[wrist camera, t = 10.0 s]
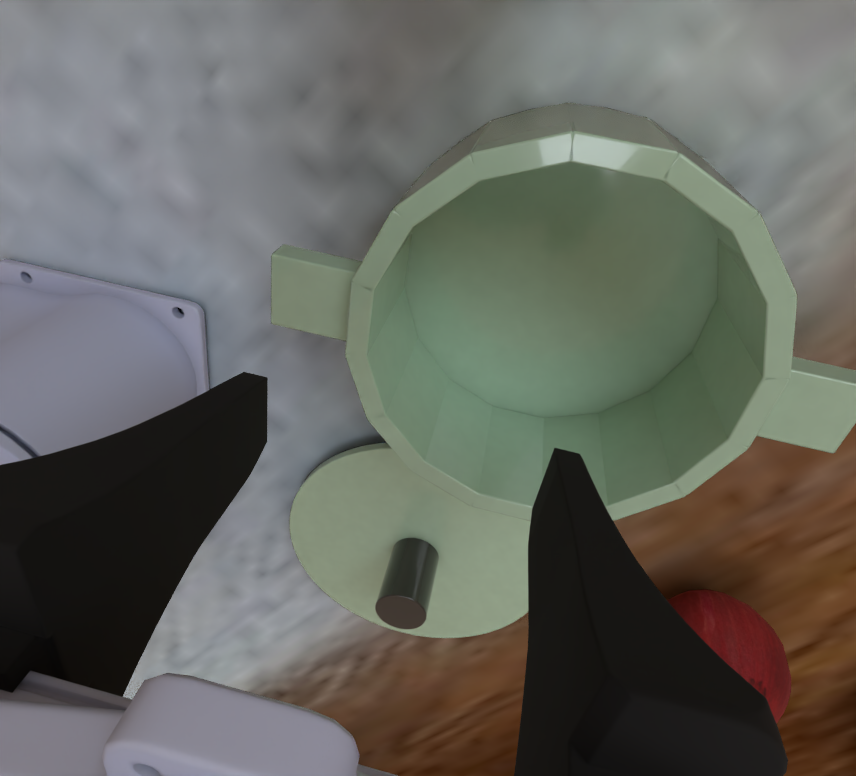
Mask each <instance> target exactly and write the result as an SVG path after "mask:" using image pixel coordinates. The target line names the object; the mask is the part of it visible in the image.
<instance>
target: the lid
mask: <svg viewBox="0 0 856 776" xmlns="http://www.w3.org/2000/svg"><path fill="white" fill-rule="evenodd" d="M530 523H531V521H528V520H524V519H520V518H516V517H512V516H508V515H504V514H500V513H496V512H492V511H487V510H483V509H479V508H475V507H472V506H469V505H467V504H466V503H464V502H462V501H461V500H459V499H457V498H456V497H454V496H452V495H450V494H449V493H447V492H445V491H444V490H442V489H440V488H439V487H437V486H435V485H434V484H432V483H430V482H429V481H427V480H425V479H424V478H422V477H420V476H419V475H417V474H415V473H414V472H412V471H411V470H410V469H409V468H408V467H407V466H406V465H405V463H404V462H403V461H402V460H401V459H400V458H399V456H398V455H397V454H396V453H395V452H394V451H393V449H392V448H391V447H390V446H389V445H388V443H378V444H370V445H364V446H361V447H357V448H353V449H349V450H347V451H345V452H342V453H340V454H337V455H335V456H333V457H332V458H330V459H328V460H327V461H325V462H323V463H322V464H321V465H319V466H318V467H317V468H316V469H315V470H314V471H312V472H311V473H310V475H309V476H308V477H307V478H306V479H305V481H304V482H303V483H302V485H301V487H300V489H299V491H298V492H297V494H296V496H295V498H294V501H293V504H292V507H291V512H290V520H289V525H290V536H291V540H292V544H293V547H294V550H295V552H296V555H297V557H298V559H299V561H300V563H301V564H302V566H303V568H304V569H305V571H306V572H307V573H308V575H309V576H310V577H311V579H312V580H313V581H314V582H315V583H316V584H317V585H318V586H319V587H320V589H321V590H323V591H324V592H325V593H326V594H327V595H328V596H329V597H331V598H332V599H333V600H334V601H336V602H337V603H339V604H340V605H341V606H343V607H344V608H346V609H347V610H349V611H351V612H352V613H354V614H356V615H358V616H360V617H362V618H364V619H366V620H368V621H370V622H372V623H375V624H377V625H380V626H382V627H385V628H388V629H392V630H395V631H398V632H402V633H407V634H411V635H417V636H424V637H433V638H461V637H470V636H476V635H481V634H485V633H489V632H492V631H495V630H498V629H501V628H503V627H505V626H507V625H509V624H511V623H513V622H515V621H516V620H518V619H519V618H521V617H522V616H524V615H525V614H526V613H527V612H528V540H529V531H530Z"/></svg>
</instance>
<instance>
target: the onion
mask: <svg viewBox="0 0 856 776" xmlns="http://www.w3.org/2000/svg"><path fill="white" fill-rule="evenodd" d="M667 601H668V602H669V603H670V604H671V605H672V607H673V608H674V609H675V610H676V611H677V612H678V614H679V615H680V616H681V617H682V618H683V619H684V621H685V622H686V623H687V624H688V625H689V626H690V627H691V628H692V629H693V630H694V631H695V632H696V633H697V634H698V635H699V637H700V638H701V639H702V640H703V641H704V642H705V643H706V644H707V645H708V646H709V647H711V648H712V649H713V650H714V651H715V652H716V653H717V654H718V655H719V656H720V657H721V658H722V659H723V660H724V661H725V662H726V663H727V664H728V665H729V666H730V667H731V668H733V669H734V670H735V671H736V672H737V673H738V674H739V675H741V676H742V677H743V678H744V679H745V680H746V681H747V682H748V683H750V684H751V685H752V686H753V687H754V688H755V689H756V690H758V691H759V692H760V693H761V694H762V695H763V696H764V697H766V699H767V701H768V704H769V706H770V709H771V711H772V714H773V716H774V719H775V721H776V723H777V722H778V721H779V719H780V718H781V716H782V715H783V713H784V711H785V709H786V707H787V705H788V701H789V697H790V693H791V675H790V671H789V667H788V663H787V659H786V655H785V651H784V647H783V644H782V643H781V641H780V639H779V638H778V636H777V635H776V633H775V631H774V630H773V628H772V627H771V626H770V625H769V624H768V623H767V622H766V621H765V620H764V619H763V618H762V617H761V616H760V615H759V614H758V613H757V612H756V611H755V610H754V609H752V608H751V607H750V606H749V605H747V604H745V603H743V602H741V601H739V600H737V599H735V598H733V597H731V596H729V595H727V594H725V593H723V592H717V591H712V590H707V589H702V590H692V591H686V592H684V593H681V594H679V595H676V596H674V597H672V598H670V599H669V600H667Z"/></svg>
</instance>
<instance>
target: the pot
mask: <svg viewBox="0 0 856 776" xmlns="http://www.w3.org/2000/svg"><path fill="white" fill-rule="evenodd" d="M796 308H797V292H796V290H795V288H794V286H793V284H792V282H791V279H790V277H789V275H788V273H787V271H786V268H785V266H784V264H783V262H782V260H781V257H780V255H779V253H778V251H777V249H776V246H775V244H774V242H773V240H772V238H771V235H770V233H769V231H768V229H767V227H766V224H765V222H764V220H763V218H762V216H761V214H760V213H759V212H758V211H757V210H756V209H755V208H754V207H753V206H752V205H751V204H750V203H749V202H748V201H747V200H746V199H745V198H744V197H743V196H742V195H741V194H740V193H739V192H738V191H737V190H736V189H735V188H734V187H733V186H732V185H731V184H730V183H728V182H727V181H726V180H725V179H724V178H723V177H722V176H721V175H720V174H719V173H718V172H717V171H716V170H715V169H714V168H713V167H712V166H711V165H710V164H709V163H708V162H706V161H705V160H704V159H702V158H701V157H700V156H698V155H697V154H696V153H694V152H693V151H692V150H690V149H689V148H688V147H686V146H685V145H684V144H683V143H681V142H680V141H679V140H678V139H677V138H675V137H674V136H672V135H671V134H669V133H668V132H667V131H665V130H664V129H663V128H661V127H660V126H659V125H657V124H656V123H655V122H653V121H652V120H651V119H648V118H647V117H642V116H637V115H632V114H628V113H625V112H621V111H617V110H614V109H610V108H605V107H597V106H589V105H581V104H576V103H563V104H559V105H553V106H547V107H541V108H534V109H529V110H526V111H522V112H519V113H516V114H513V115H509V116H506V117H503V118H498V119H494V120H492V121H491V122H488V123H486V124H485V125H484V126H482V127H481V128H479V129H478V130H477V131H475V132H474V133H472V134H471V135H469V136H468V137H466V138H465V139H463V140H462V141H460V142H459V143H458V144H457V145H455V146H454V147H453V148H452V149H451V150H450V151H448V152H447V153H445V154H444V155H443V156H441V157H440V158H439V159H437V160H436V161H435V162H433V163H432V164H431V165H430V166H429V167H428V168H427V169H426V170H425V171H424V173H423V174H422V175H421V176H420V177H419V179H418V180H417V181H416V182H415V183H414V184H413V186H412V187H411V188H410V189H409V190H408V192H407V193H406V194H405V195H404V196H403V197H402V199H401V200H400V201H399V202H398V203H397V205H396V206H395V207H394V208H393V209H392V210H391V212H390V214H389V216H388V217H387V219H386V221H385V223H384V224H383V226H382V228H381V230H380V231H379V233H378V235H377V237H376V238H375V240H374V242H373V243H372V245H371V247H370V249H369V250H368V252H367V254H366V256H365V257H364V259H363V261H357V260H353V259H348V258H344V257H339V256H335V255H330V254H326V253H321V252H317V251H312V250H308V249H303V248H299V247H294V246H289V245H285V244H284V245H282V246H281V247H280V248H279V249H277V250H276V251H275V252H274V253H273V254H272V255H271V324H274V325H278V326H282V327H287V328H291V329H295V330H300V331H304V332H308V333H313V334H317V335H321V336H326V337H330V338H334V339H339V340H343V341H346V348H345V353H346V354H345V356H346V359H347V362H348V365H349V368H350V371H351V374H352V377H353V380H354V383H355V386H356V388H357V391H358V394H359V397H360V400H361V403H362V406H363V409H364V412H365V415H366V418H367V419H368V421H369V422H370V424H371V425H372V426H373V427H374V428H375V429H376V431H377V432H378V433H379V434H380V435H381V436H382V438H383V439H384V440H385V441H386V442H387V443H388V445H389V446H390V447H391V448H392V449H393V451H394V452H395V453H396V454H397V455H398V456H399V458H400V459H401V460H402V461H403V462H404V463H405V465H406V466H407V467H408V468H409V469H410V470H411V471H412V472H414V473H415V474H417V475H419V476H420V477H422V478H424V479H425V480H427V481H429V482H430V483H432V484H434V485H435V486H437V487H439V488H440V489H442V490H444V491H445V492H447V493H449V494H450V495H452V496H454V497H456V498H457V499H459V500H461V501H462V502H464V503H466V504H467V505H469V506H472V507H475V508H479V509H483V510H487V511H492V512H496V513H500V514H504V515H508V516H512V517H516V518H520V519H524V520H528V521H531V515H532V508H533V505H534V502H535V499H536V497H537V494H538V491H539V489H540V486H541V483H542V480H543V478H544V475H545V472H546V469H547V467H548V464H549V461H550V458H551V456H552V453H553V450H554V448H559V449H563V450H567V451H571V452H575V453H579V454H580V455H581V457H582V458H583V460H584V463H585V465H586V467H587V469H588V472H589V474H590V476H591V478H592V480H593V483H594V485H595V487H596V489H597V491H598V493H599V495H600V497H601V499H602V501H603V503H604V505H605V507H606V509H607V511H608V513H609V515H610V516H611V518H612V520H618V519H621V518H624V517H627V516H630V515H632V514H635V513H638V512H641V511H644V510H647V509H650V508H653V507H656V506H659V505H662V504H665V503H668V502H671V501H674V500H677V499H679V498H682V497H685V496H686V495H688V494H690V493H691V492H692V491H693V490H695V489H696V488H697V487H699V486H700V485H701V484H703V483H704V482H705V481H707V480H708V479H709V478H711V477H712V476H713V475H715V474H716V473H717V472H719V471H720V470H721V469H722V468H724V467H725V466H726V465H728V464H729V463H730V462H732V461H733V460H734V459H736V458H737V457H738V456H740V455H741V454H742V453H744V452H745V451H746V450H747V449H748V447H750V446H751V444H752V442H753V441H754V439H755V437H756V436H759V437H763V438H768V439H772V440H776V441H781V442H785V443H789V444H794V445H798V446H802V447H807V448H811V449H815V450H820V451H824V452H828V453H835V451H836V450H837V449H838V447H839V446H840V444H841V443H842V442H843V440H844V439H845V437H846V436H847V434H848V433H849V432H850V430H851V429H852V427H853V426H854V425H855V423H856V370H851V369H847V368H842V367H838V366H833V365H828V364H824V363H819V362H815V361H810V360H806V359H801V358H797V357H792V356H793V344H794V332H795V320H796Z"/></svg>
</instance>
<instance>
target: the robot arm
mask: <svg viewBox="0 0 856 776" xmlns="http://www.w3.org/2000/svg"><path fill="white" fill-rule="evenodd" d="M28 274H29V275H30V276H31V278H32V279H31V278H30V277H29V275H28ZM177 307H178V308H180V309H181V310H182V311H183V313H184V315H183V314H181V313H180V312H179V311H178V309H177ZM266 443H267V377H263V376H259V375H254V374H250V373H246V372H243V373H241V374H239V375H237V376H235V377H233V378H231V379H229V380H227V381H225V382H223V383H221V384H220V385H218V386H216V387H214V388H212V389H210V390H209V377H208V362H207V347H206V331H205V316H204V311H203V309H202V308H201V306H200V305H198V304H197V303H195V302H192V301H188V300H184V299H179V298H175V297H171V296H166V295H162V294H158V293H153V292H149V291H145V290H140V289H136V288H132V287H127V286H123V285H118V284H114V283H110V282H105V281H101V280H97V279H92V278H88V277H84V276H79V275H75V274H71V273H66V272H62V271H58V270H53V269H49V268H45V267H40V266H36V265H32V264H27V263H23V262H19V261H14V260H10V259H4V260H1V261H0V776H397V775H394V774H390V773H387V772H383V771H380V770H376V769H373V768H369V767H366V766H362V765H359V764H358V761H359V752H358V749H357V746H356V743H355V740H354V738H353V736H352V734H350V733H349V732H348V731H347V730H346V729H345V728H344V727H342V726H341V725H340V724H339V723H338V722H337V721H335V720H334V719H331V718H329V717H327V716H324V715H322V714H320V713H317V712H315V711H313V710H311V709H307V708H303V707H300V706H296V705H293V704H289V703H286V702H282V701H279V700H275V699H271V698H268V697H264V696H261V695H257V694H254V693H250V692H247V691H243V690H239V689H236V688H232V687H229V686H225V685H222V684H218V683H214V682H211V681H207V680H204V679H200V678H197V677H193V676H187V675H180V674H172V673H166V674H163V675H160V676H157V677H154V678H150V679H147V680H144V682H143V683H142V685H141V687H140V688H139V690H138V692H137V693H136V695H135V696H134V698H133V700H131V699H128V698H124V697H122V696H123V694H124V692H125V690H126V688H127V686H128V683H129V681H130V679H131V677H132V675H133V672H134V670H135V668H136V666H137V664H138V662H139V660H140V658H141V656H142V654H143V652H144V650H145V648H146V646H147V644H148V642H149V640H150V638H151V636H152V634H153V631H154V629H155V627H156V625H157V624H158V622H159V620H160V618H161V616H162V614H163V612H164V610H165V608H166V606H167V604H168V603H169V601H170V599H171V597H172V595H173V593H174V591H175V589H176V587H177V586H178V584H179V582H180V580H181V578H182V577H183V575H184V573H185V571H186V569H187V568H188V566H189V564H190V562H191V560H192V559H193V557H194V555H195V554H196V552H197V551H198V549H199V548H200V546H201V544H202V543H203V541H204V540H205V539H206V537H207V536H208V534H209V533H210V531H211V530H212V529H213V527H214V526H215V524H216V523H217V522H218V520H219V519H220V517H221V516H222V514H223V513H224V512H225V510H226V509H227V507H228V506H229V504H230V503H231V502H232V500H233V499H234V497H235V496H236V494H237V493H238V492H239V490H240V489H241V487H242V486H243V484H244V483H245V481H246V480H247V479H248V477H249V476H250V474H251V472H252V470H253V468H254V466H255V465H256V463H257V461H258V459H259V457H260V455H261V453H262V451H263V449H264V447H265V445H266ZM528 613H529V634H528V653H527V664H526V674H525V685H524V695H523V704H522V714H521V723H520V732H519V740H518V749H517V757H516V765H515V774H514V776H783V775H784V774H785V773H786V770H787V762H788V759H787V756H786V753H785V750H784V747H783V743H782V740H781V736H780V733H779V730H778V727H777V724H776V721H775V719H774V716H773V714H772V711H771V709H770V706H769V704H768V701H767V699H766V697H764V696H763V695H762V694H761V693H760V692H759V691H758V690H756V689H755V688H754V687H753V686H752V685H751V684H750V683H748V682H747V681H746V680H745V679H744V678H743V677H742V676H741V675H739V674H738V673H737V672H736V671H735V670H734V669H733V668H731V667H730V666H729V665H728V664H727V663H726V662H725V661H724V660H723V659H722V658H721V657H720V656H719V655H718V654H717V653H716V652H715V651H714V650H713V649H712V648H711V647H709V646H708V645H707V644H706V643H705V642H704V641H703V640H702V639H701V638H700V637H699V635H698V634H697V633H696V632H695V631H694V630H693V629H692V628H691V627H690V626H689V625H688V624H687V623H686V622H685V621H684V619H683V618H682V617H681V616H680V615H679V614H678V612H677V611H676V610H675V609H674V608H673V607H672V605H671V604H670V603H669V602H668V601H667V600H666V599H665V597H664V596H663V595H662V594H661V592H660V591H659V590H658V589H657V587H656V586H655V585H654V583H653V582H652V581H651V579H650V578H649V577H648V575H647V574H646V573H645V571H644V570H643V568H642V567H641V566H640V564H639V563H638V562H637V560H636V558H635V557H634V555H633V554H632V552H631V551H630V549H629V547H628V546H627V544H626V543H625V541H624V539H623V538H622V536H621V534H620V533H619V531H618V529H617V527H616V526H615V524H614V522H613V520H612V518H611V516H610V515H609V513H608V511H607V509H606V507H605V505H604V503H603V501H602V499H601V497H600V495H599V493H598V491H597V489H596V487H595V485H594V483H593V480H592V478H591V476H590V474H589V472H588V469H587V467H586V465H585V463H584V460H583V458H582V457H581V455H580V454H579V453H575V452H571V451H567V450H563V449H559V448H554V450H553V453H552V456H551V458H550V461H549V464H548V467H547V469H546V472H545V475H544V478H543V480H542V483H541V486H540V489H539V491H538V494H537V497H536V499H535V502H534V505H533V508H532V515H531V523H530V531H529V540H528Z"/></svg>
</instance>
